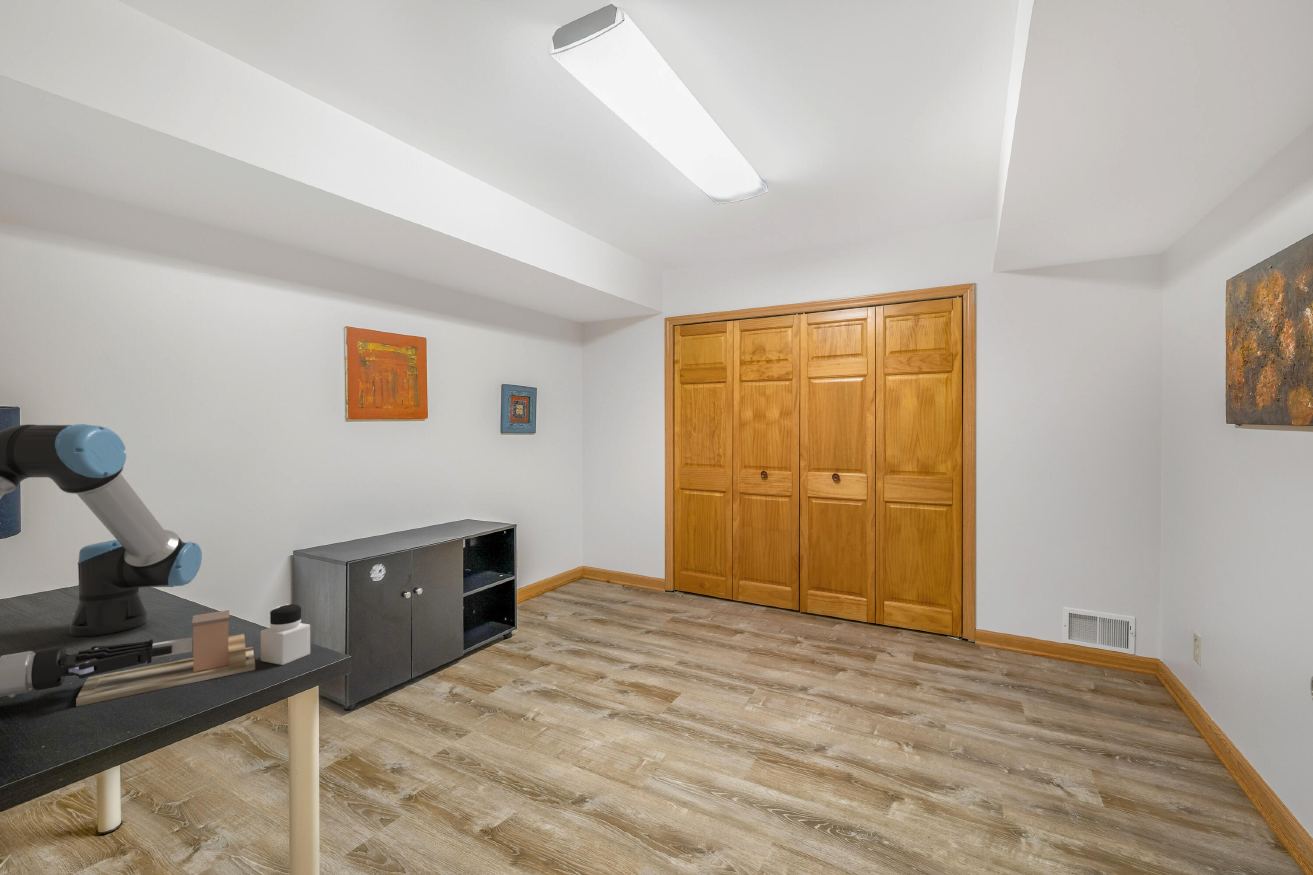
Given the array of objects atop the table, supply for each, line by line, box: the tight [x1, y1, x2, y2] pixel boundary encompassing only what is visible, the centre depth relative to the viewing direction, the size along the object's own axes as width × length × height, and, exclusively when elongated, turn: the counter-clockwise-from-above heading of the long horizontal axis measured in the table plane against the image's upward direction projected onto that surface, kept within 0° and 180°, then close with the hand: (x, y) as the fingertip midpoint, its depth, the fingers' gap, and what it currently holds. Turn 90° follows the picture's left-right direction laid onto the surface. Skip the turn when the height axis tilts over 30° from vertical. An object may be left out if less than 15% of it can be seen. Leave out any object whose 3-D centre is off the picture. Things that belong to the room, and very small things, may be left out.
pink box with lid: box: [191, 609, 230, 672], centre depth 126 cm, size 6×6×11 cm
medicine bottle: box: [260, 603, 311, 666], centre depth 132 cm, size 7×7×12 cm
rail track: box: [75, 633, 256, 707], centre depth 122 cm, size 12×28×5 cm, turn 127°
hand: (192, 644), depth 123 cm, fingers closed
